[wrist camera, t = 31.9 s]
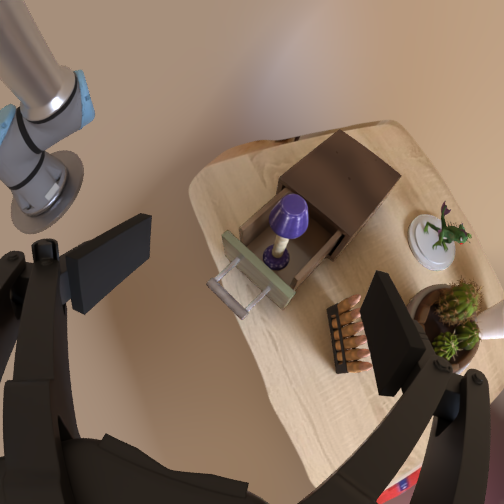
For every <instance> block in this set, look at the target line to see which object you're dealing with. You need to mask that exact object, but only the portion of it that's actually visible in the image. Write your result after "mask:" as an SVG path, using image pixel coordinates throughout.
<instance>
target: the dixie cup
mask: <svg viewBox="0 0 504 504" xmlns="http://www.w3.org/2000/svg"><path fill="white" fill-rule="evenodd" d="M477 322H478V323H477V324H478V327H479V329H483V330H480V332H481V333H480V332H479V337H480V338H481V339H496V338H504V299H503V300H502V301H500V302H499V303H497V304H495V305H494V306H492V307H490V308H489V309H487V310H485V311H483V312H482V313H480V314H479V315H478V316H477ZM482 333H483V334H482ZM481 335H483V336H481Z"/></svg>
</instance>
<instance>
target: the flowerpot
mask: <svg viewBox="0 0 504 504" xmlns="http://www.w3.org/2000/svg"><path fill="white" fill-rule="evenodd" d="M460 280H461V281H460V282H459V285H458V286H457V285H456V284H455V283H454V285H452V286H451V285H447V284H438V285H432V286H429V287H427V288H425V289H423V290H421V291H420V292H419V293H417V294H416V295H415V296H414V297H413V298H412V299H410V302H409V304H408V306H407V307H406V308H407V310H408V312H409V314H410V316H411V318H412V319H413V320H416V321H417V322H418V323H419V324H420V325H421V326H422V327H423V329H424V331H425V333H426V335H427V337H428V340H429V341H430V343H431V345H432V347H433V349H434V351H435V354H436V355H438V356H441V357H443V358H445V359H446V360H447V361H449V363H450V364H451V365H452V368H453V373H456V374H458V375H459V374H460V373H461V372H462V371H463V370H464V369H465V368H466V367H467V366H468V365H469V363H470V361H471V360H472V358H473V357H474V355H475V353H476V352H477V350H478V347H479V342H480V339H481V338H480V337H479V332H480V330H483V329H479V327H478V324H477V323H478V322H477V318H476V312H479V311H478V310H480V309H481V308H482V307H481V306H482V305H481V306H479V305H480V304H482V303H481V302H482V301H481V300H482V299H481V300H480V298H482V296H481V297H480V294H481V293H479V292H480V291H481V289H482V288H481V289H480V288H479V289H480V290H479V291H477V286H476V287H475V288H474V287H473V285H472V284H471V283H473V282H474V281H473V282H471V283H470V284H468V283H467V284H468V285H467V284H465V283H466V282H465V281H464V283H463V280H464V279H463V280H462V275H461V279H460ZM457 281H459V280H457ZM466 281H467V280H466ZM449 284H450V283H449ZM452 284H453V281H452ZM457 284H458V283H457ZM474 284H475V283H474ZM476 285H477V284H476ZM474 286H475V285H474ZM480 287H481V286H480ZM481 295H482V294H481ZM479 297H480V298H479ZM479 300H480V301H481V302H480V301H479ZM479 302H480V304H478V303H479ZM479 307H481V308H480V309H478V308H479ZM480 333H481V332H480ZM482 334H483V333H482ZM481 336H483V335H481Z"/></svg>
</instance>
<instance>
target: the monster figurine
mask: <svg viewBox="0 0 504 504" xmlns="http://www.w3.org/2000/svg"><path fill="white" fill-rule="evenodd" d="M450 211H451V209H450V210H448V209H447V206H446V205H445V202H444V203H443V205H442V207H441V213H442V215H441V220H440V219H438V218H436V217H435V216H432V215H428V214H423V215H419V216H417V217H416V218H415V219H414V220H413V221H412V222H411V224H410V226H409V229H408V241H409V246H410V248H411V251H412V253H413V254H414V256H415V258H416V259H417V260H418V261H419V262H420V263H421V264H422V265H423V266H424V267H426V268H428V269H430V270H433V271H441V270H444V269H446V268H447V267H449V266H450V265H451V263H452V262H453V260H454V257H455V243H454V241H457V242H458V243H459V244H463V243H465V242H466V241H467V239H468V237H469V238H470V237H471V235H470V234H469V233H467V232H465V228H464V227H463V224H460V226H459V228H457V227H455V225H454V226H449V224H448V227H447V226H446V222H445V219H444V216H445V215H446V214H448V213H449V212H450ZM455 223H456V222H455ZM451 225H452V224H451ZM456 226H457V225H456ZM470 239H471V238H470ZM468 242H469V241H468ZM469 243H470V242H469Z"/></svg>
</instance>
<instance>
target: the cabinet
mask: <svg viewBox="0 0 504 504" xmlns="http://www.w3.org/2000/svg"><path fill="white" fill-rule="evenodd" d="M400 177H401V175H400V174H399V173H398V172H397V171H395V170H394V169H393V168H392V167H391V166H389V165H388V164H387V163H385V162H384V161H383V160H382V159H380V158H379V157H378V156H376V155H375V154H374V153H373V152H371V151H370V150H369V149H367V148H366V147H364V146H363V145H362V144H360V143H359V142H358V141H356V140H355V139H353V138H352V137H351V136H349V135H348V134H346V133H345V132H343V131H342V130H340V129H339V130H338V131H337V132H335V133H334V134H333V135H332V136H330V137H329V138H328V139H327V140H325V141H324V142H323V143H321V144H320V145H319V146H318V147H316V148H315V149H314V150H313V151H311V152H310V153H309V154H308V155H306V156H305V157H304V158H303V159H301V160H300V161H299V162H298V163H296V164H295V165H294V166H293V167H291V168H290V169H289V170H288V171H287V172H285V173H284V174H283V175H282V176H280V177H279V181H278V187H277V193H276V195H277V194H278V193H279V192H281V191H282V190H283V189H284V188H285V187H287V188H288V189H289V190H291V191H292V192H293V193H294V194H297V195H300V196H301V197H302V198H304V200H305V201H306V203H307V204H308V205H309V206H310V207H312V208H313V209H314V210H315V211H316V212H318V213H319V214H320V215H321V216H322V217H324V218H325V219H326V220H327V221H328V222H330V223H331V224H332V225H333V226H334V227H335V228H337V229H338V230H339V231H340V232H341V233H342V234H344V236H343V237H342V239H341V240H340V241H339V243H338V244H337V245H336V246H335V247H334V248H333V249H332V250H331V252H330V253H329V254H328V255H327V257H329V258H330V259H331V260H332V261H334V260H335V259H336V258H337V257H338V255H339V254H340V253H341V252H342V251H343V250H344V249H345V247H346V246H347V245H348V244H349V243H350V242H351V240H352V239H353V238H354V237H355V236H356V234H357V233H358V232H359V231H360V230H361V229H362V227H363V226H364V225H365V224H366V223H367V221H368V220H369V219H370V218H371V216H372V215H373V214H374V213H375V212H376V210H377V209H378V208H379V207H380V205H381V204H382V203H383V201H384V200H385V199H386V197H387V196H388V194H389V193H390V192H391V190H392V189H393V187H394V186H395V184H396V183H397V182H398V180H399V179H400Z"/></svg>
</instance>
